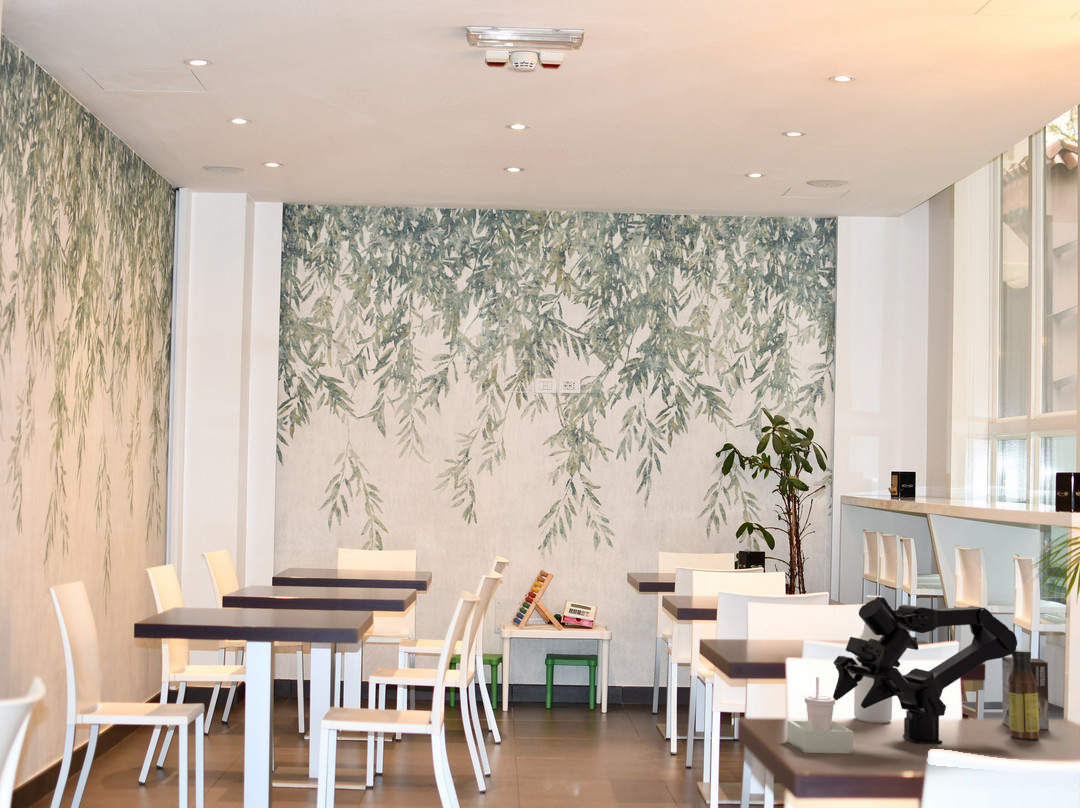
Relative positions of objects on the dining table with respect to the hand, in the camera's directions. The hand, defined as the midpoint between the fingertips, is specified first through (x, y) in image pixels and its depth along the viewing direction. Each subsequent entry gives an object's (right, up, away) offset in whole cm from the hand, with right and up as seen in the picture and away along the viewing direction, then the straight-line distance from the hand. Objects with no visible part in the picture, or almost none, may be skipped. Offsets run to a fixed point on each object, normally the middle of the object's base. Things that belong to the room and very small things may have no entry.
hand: (848, 702), depth 233 cm
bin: (-7, -8, -4) cm, 12 cm away
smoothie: (-7, -8, -4) cm, 11 cm away
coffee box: (+51, -14, +29) cm, 60 cm away
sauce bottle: (+45, -12, +15) cm, 49 cm away
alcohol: (+14, -12, +29) cm, 34 cm away
